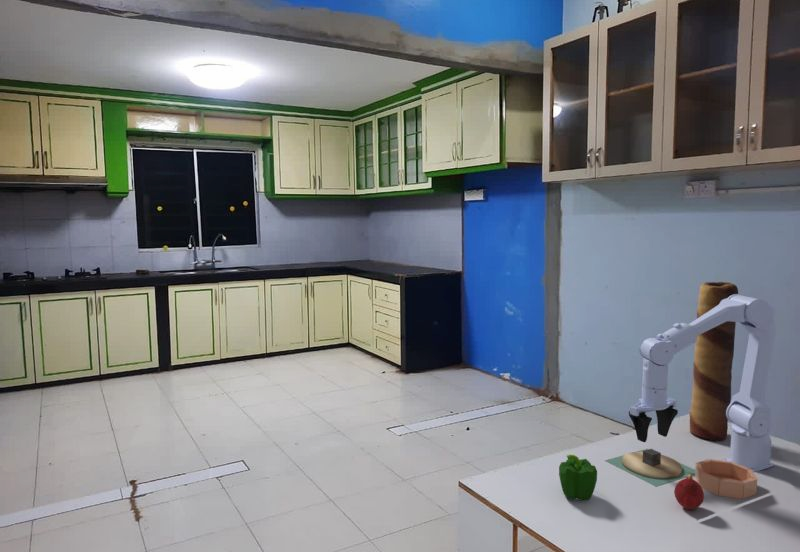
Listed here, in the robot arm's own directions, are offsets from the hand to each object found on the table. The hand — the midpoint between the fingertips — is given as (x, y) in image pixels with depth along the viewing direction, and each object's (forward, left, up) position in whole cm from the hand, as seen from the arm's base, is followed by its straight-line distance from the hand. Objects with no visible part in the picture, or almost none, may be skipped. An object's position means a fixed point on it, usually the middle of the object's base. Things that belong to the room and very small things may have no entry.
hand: (652, 438), depth 144 cm
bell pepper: (+27, +2, -8) cm, 28 cm away
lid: (0, 0, -8) cm, 8 cm away
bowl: (-7, +15, -8) cm, 18 cm away
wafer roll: (-33, -7, -8) cm, 35 cm away
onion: (+10, +18, -8) cm, 22 cm away
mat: (0, 0, -8) cm, 8 cm away
